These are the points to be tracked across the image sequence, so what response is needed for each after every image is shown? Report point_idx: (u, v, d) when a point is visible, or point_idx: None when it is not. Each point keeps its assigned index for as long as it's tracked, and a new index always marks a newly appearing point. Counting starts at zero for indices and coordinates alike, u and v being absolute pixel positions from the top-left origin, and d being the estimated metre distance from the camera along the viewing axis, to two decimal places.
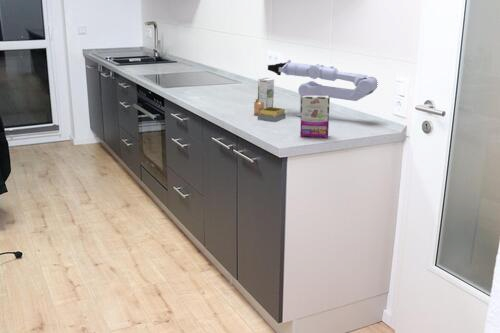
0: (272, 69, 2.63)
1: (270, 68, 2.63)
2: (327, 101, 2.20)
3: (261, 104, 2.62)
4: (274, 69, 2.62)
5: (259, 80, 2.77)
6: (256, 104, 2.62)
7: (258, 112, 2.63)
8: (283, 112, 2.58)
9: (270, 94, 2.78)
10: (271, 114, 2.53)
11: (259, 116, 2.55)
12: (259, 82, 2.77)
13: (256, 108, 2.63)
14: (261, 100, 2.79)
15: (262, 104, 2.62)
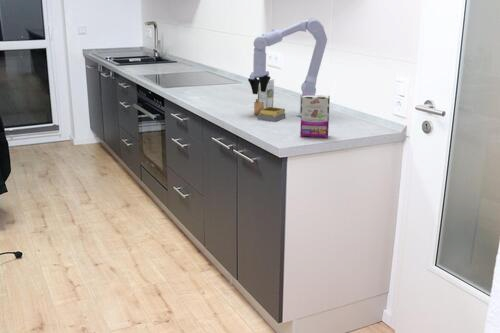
0: (255, 88, 2.58)
1: (255, 91, 2.58)
2: (327, 101, 2.20)
3: (262, 104, 2.62)
4: (255, 86, 2.57)
5: None
6: (256, 104, 2.62)
7: (258, 112, 2.63)
8: (283, 112, 2.58)
9: (270, 94, 2.78)
10: (271, 114, 2.53)
11: (259, 116, 2.55)
12: None
13: (256, 108, 2.63)
14: (261, 100, 2.79)
15: (262, 104, 2.62)
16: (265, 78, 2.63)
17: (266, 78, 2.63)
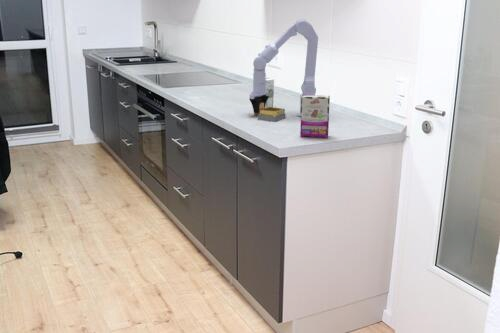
0: (256, 107, 2.61)
1: (256, 109, 2.62)
2: (327, 101, 2.20)
3: (262, 104, 2.62)
4: (256, 105, 2.61)
5: None
6: None
7: None
8: (283, 112, 2.58)
9: (270, 94, 2.78)
10: (271, 114, 2.53)
11: (259, 116, 2.55)
12: None
13: None
14: None
15: (262, 104, 2.62)
16: (263, 98, 2.65)
17: (264, 98, 2.64)
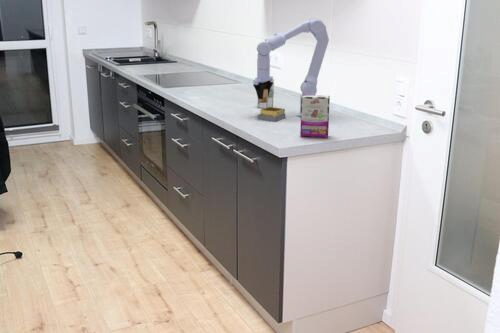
0: (260, 93, 2.57)
1: (260, 96, 2.58)
2: (327, 101, 2.20)
3: (265, 90, 2.58)
4: (260, 91, 2.57)
5: None
6: None
7: None
8: (283, 112, 2.58)
9: (270, 94, 2.78)
10: (271, 114, 2.53)
11: (259, 116, 2.55)
12: None
13: None
14: None
15: (266, 91, 2.58)
16: (267, 84, 2.61)
17: (269, 84, 2.60)
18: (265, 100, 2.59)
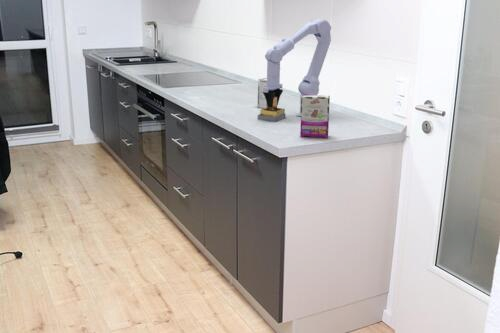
0: (270, 101, 2.53)
1: (269, 103, 2.54)
2: (327, 101, 2.20)
3: (274, 98, 2.54)
4: (270, 99, 2.53)
5: (259, 80, 2.77)
6: None
7: None
8: (283, 112, 2.58)
9: None
10: (271, 114, 2.53)
11: (259, 116, 2.55)
12: (259, 82, 2.77)
13: None
14: (261, 100, 2.79)
15: (275, 98, 2.54)
16: (277, 91, 2.56)
17: (278, 91, 2.56)
18: (274, 108, 2.55)
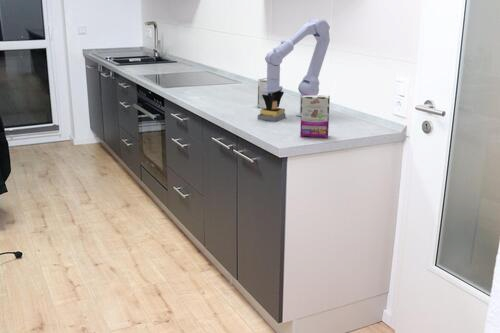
0: (269, 104, 2.53)
1: (269, 106, 2.53)
2: (327, 101, 2.20)
3: (275, 103, 2.54)
4: (269, 102, 2.52)
5: (259, 80, 2.77)
6: None
7: None
8: (283, 112, 2.58)
9: None
10: (271, 114, 2.53)
11: (259, 116, 2.55)
12: (259, 82, 2.77)
13: None
14: (261, 100, 2.79)
15: (275, 103, 2.55)
16: (278, 94, 2.57)
17: (279, 93, 2.57)
18: None
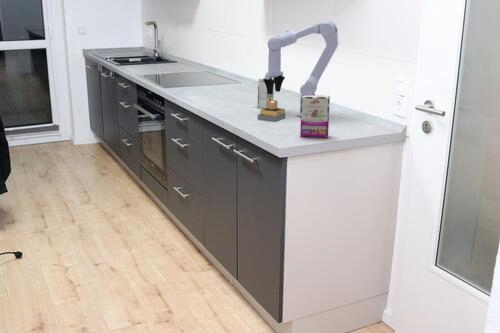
0: (270, 88, 2.61)
1: (270, 90, 2.62)
2: (327, 101, 2.20)
3: (275, 102, 2.54)
4: (270, 86, 2.61)
5: (259, 80, 2.77)
6: (269, 102, 2.55)
7: (271, 110, 2.55)
8: (283, 112, 2.58)
9: (270, 94, 2.78)
10: (271, 114, 2.53)
11: (259, 116, 2.55)
12: (259, 82, 2.77)
13: (269, 106, 2.55)
14: (261, 100, 2.79)
15: (275, 103, 2.55)
16: (279, 78, 2.67)
17: (280, 78, 2.66)
18: None
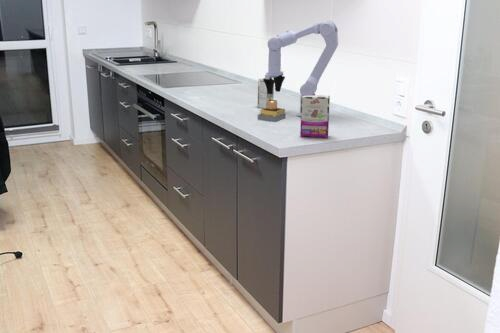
0: (270, 88, 2.62)
1: (270, 90, 2.62)
2: (327, 101, 2.20)
3: (274, 103, 2.54)
4: (270, 86, 2.61)
5: (259, 80, 2.77)
6: (269, 103, 2.55)
7: None
8: (283, 112, 2.58)
9: (270, 94, 2.78)
10: (271, 114, 2.53)
11: (259, 116, 2.55)
12: (259, 82, 2.77)
13: (269, 107, 2.55)
14: (261, 100, 2.79)
15: (275, 103, 2.54)
16: (279, 78, 2.67)
17: (281, 78, 2.67)
18: None
